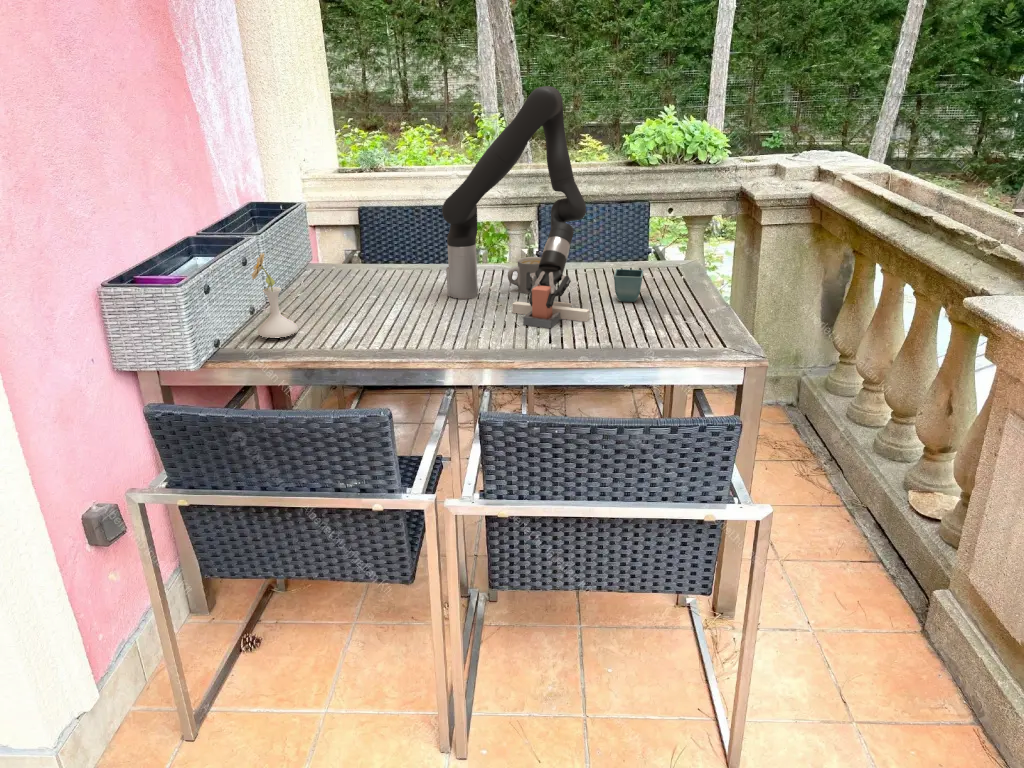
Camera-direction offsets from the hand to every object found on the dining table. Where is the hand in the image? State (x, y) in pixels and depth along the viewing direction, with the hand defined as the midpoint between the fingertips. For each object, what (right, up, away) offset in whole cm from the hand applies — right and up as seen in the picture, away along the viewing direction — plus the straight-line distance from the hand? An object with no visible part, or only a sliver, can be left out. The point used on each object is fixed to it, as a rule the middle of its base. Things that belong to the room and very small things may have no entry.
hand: (539, 305), depth 225 cm
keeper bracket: (+1, -5, +4) cm, 6 cm away
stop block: (+1, -3, +3) cm, 5 cm away
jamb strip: (+5, -1, +13) cm, 14 cm away
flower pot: (+29, +4, +23) cm, 37 cm away
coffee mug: (-3, +9, +37) cm, 38 cm away
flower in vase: (-75, -9, -3) cm, 76 cm away
